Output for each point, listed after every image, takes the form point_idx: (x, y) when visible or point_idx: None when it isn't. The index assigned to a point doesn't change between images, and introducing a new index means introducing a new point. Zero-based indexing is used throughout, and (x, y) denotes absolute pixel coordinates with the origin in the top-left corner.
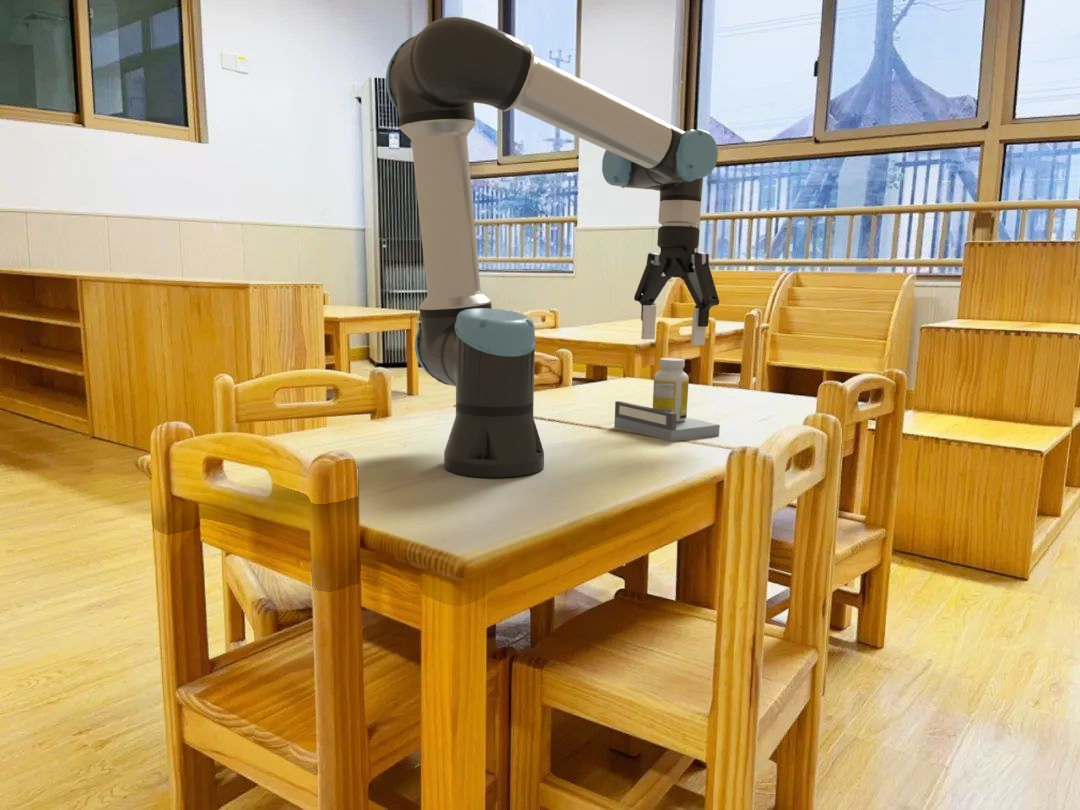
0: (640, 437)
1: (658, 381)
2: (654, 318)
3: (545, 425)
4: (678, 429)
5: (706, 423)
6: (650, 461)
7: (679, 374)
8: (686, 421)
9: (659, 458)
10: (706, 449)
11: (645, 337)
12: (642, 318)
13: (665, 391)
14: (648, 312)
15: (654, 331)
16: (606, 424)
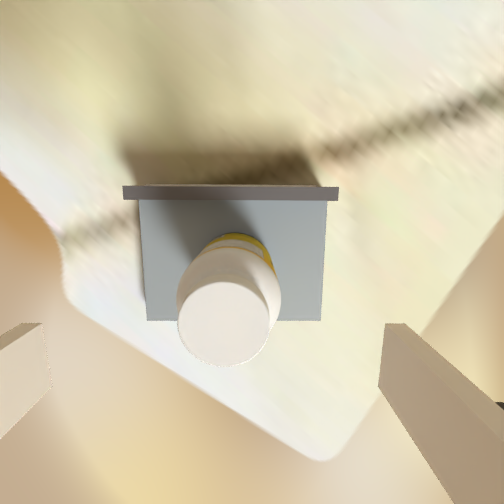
0: (208, 161)
1: (228, 247)
2: (446, 479)
3: (420, 55)
4: (141, 208)
5: (169, 307)
6: (11, 15)
7: (182, 298)
8: None
9: (27, 52)
10: (61, 197)
11: (388, 337)
12: (489, 398)
13: (206, 248)
14: (492, 469)
15: (397, 413)
16: (353, 192)
